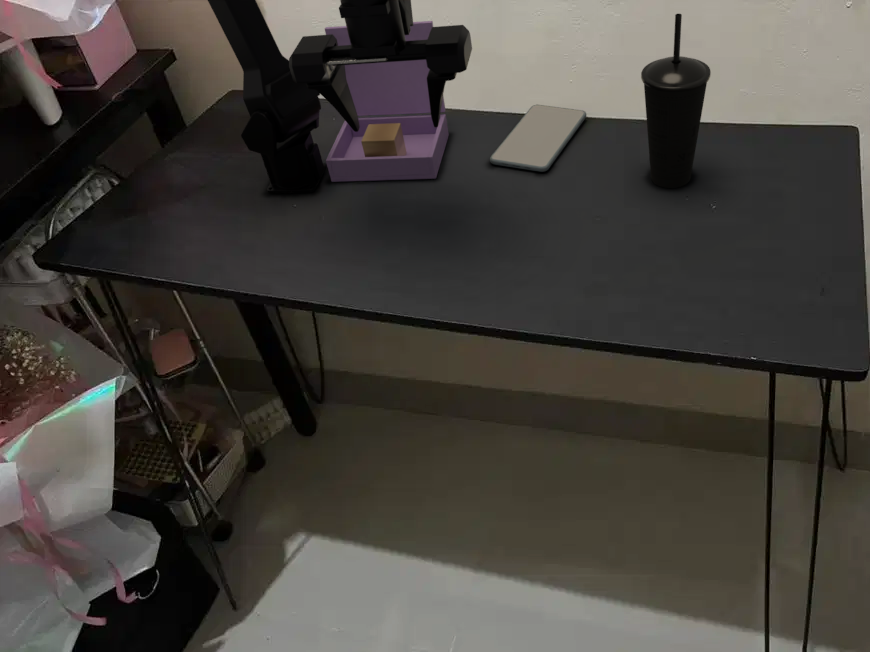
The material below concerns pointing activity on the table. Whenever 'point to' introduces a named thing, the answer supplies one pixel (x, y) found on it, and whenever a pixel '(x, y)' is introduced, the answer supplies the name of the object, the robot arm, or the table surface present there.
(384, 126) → the block
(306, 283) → the table surface
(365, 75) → the purple hinged lid
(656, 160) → the drinking cup
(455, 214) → the table surface
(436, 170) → the purple box
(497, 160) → the smartphone
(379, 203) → the table surface
